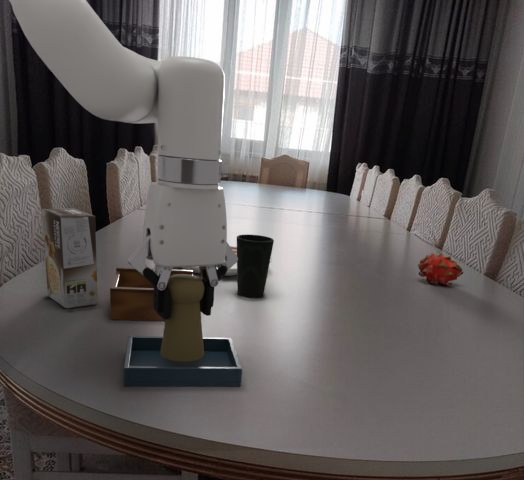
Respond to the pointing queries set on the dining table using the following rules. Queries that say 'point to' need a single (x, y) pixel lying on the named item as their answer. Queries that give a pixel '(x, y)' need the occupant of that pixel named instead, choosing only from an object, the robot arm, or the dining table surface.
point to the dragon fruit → (439, 269)
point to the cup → (253, 264)
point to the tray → (181, 364)
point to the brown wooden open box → (134, 295)
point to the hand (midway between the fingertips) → (183, 313)
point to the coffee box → (70, 256)
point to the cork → (184, 320)
